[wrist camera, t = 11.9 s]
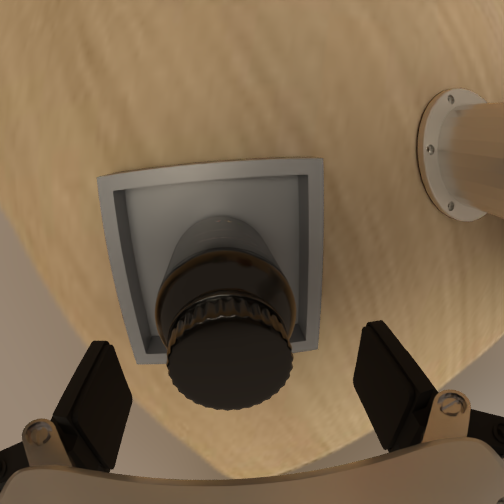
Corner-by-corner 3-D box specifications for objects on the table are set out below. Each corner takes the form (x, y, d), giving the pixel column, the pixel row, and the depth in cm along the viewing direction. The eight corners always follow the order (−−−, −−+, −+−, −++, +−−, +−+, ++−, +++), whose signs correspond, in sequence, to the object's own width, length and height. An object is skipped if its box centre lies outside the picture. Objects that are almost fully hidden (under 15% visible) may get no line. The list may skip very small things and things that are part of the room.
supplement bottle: (260, 306, 23) (296, 427, 12) (171, 297, 22) (143, 420, 11) (276, 218, 21) (340, 296, 10) (177, 207, 20) (132, 277, 9)
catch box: (307, 156, 21) (323, 158, 18) (306, 325, 26) (317, 349, 22) (114, 172, 20) (96, 177, 17) (144, 339, 25) (136, 364, 21)
